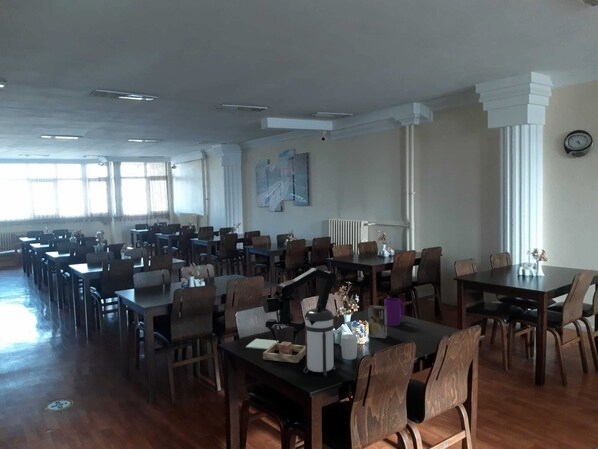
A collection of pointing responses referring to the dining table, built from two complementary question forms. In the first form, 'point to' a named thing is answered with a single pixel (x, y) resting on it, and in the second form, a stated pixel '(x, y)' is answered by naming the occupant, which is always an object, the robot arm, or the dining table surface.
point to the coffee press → (319, 340)
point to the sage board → (261, 344)
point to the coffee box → (377, 321)
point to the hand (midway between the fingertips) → (285, 341)
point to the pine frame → (283, 357)
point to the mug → (394, 311)
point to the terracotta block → (285, 348)
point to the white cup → (349, 346)
